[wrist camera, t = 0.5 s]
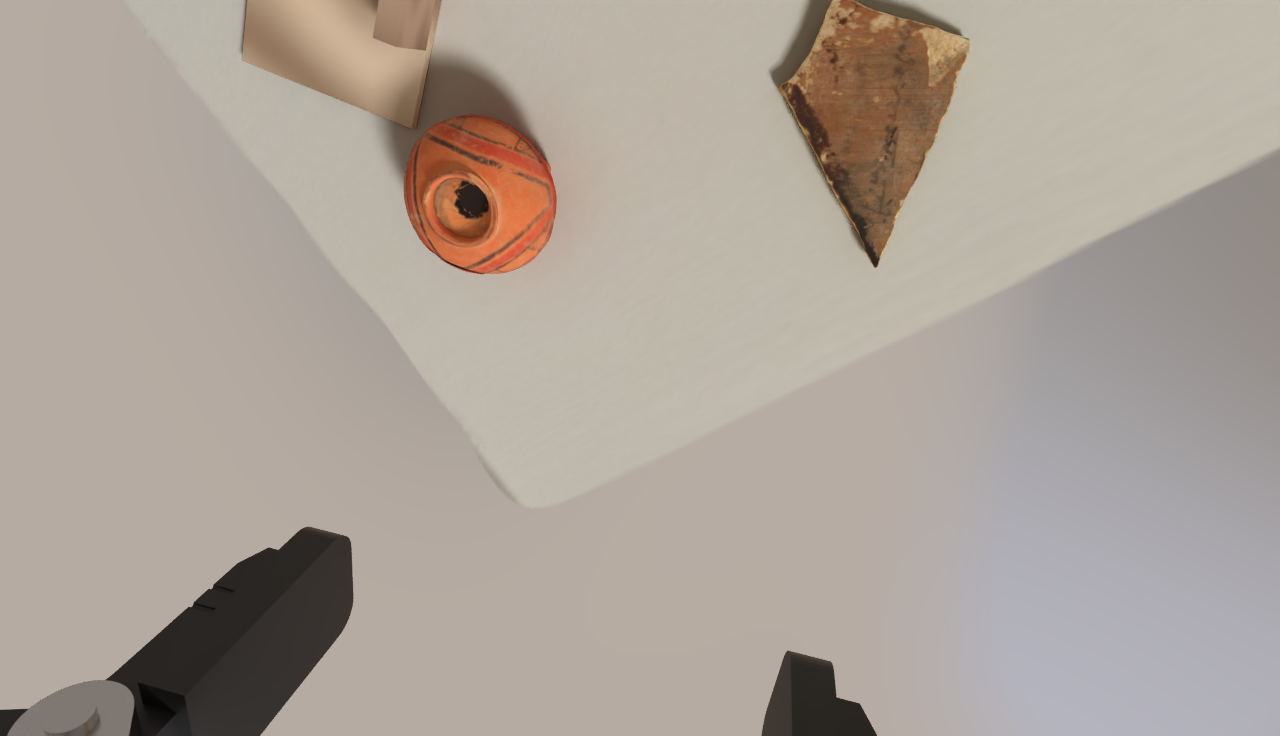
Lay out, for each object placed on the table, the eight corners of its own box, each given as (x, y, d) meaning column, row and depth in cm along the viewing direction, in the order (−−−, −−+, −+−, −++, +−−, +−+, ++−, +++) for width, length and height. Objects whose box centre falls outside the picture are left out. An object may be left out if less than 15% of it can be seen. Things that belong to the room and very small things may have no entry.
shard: (872, 261, 35) (877, 270, 34) (734, 215, 36) (732, 222, 34) (971, 41, 31) (983, 39, 29) (812, -9, 31) (815, -14, 30)
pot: (513, 70, 34) (482, 100, 29) (593, 201, 38) (580, 250, 32) (393, 147, 37) (343, 188, 31) (479, 263, 40) (449, 319, 35)
